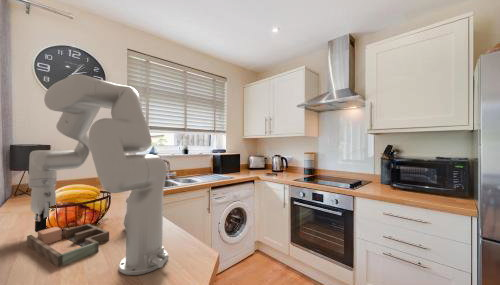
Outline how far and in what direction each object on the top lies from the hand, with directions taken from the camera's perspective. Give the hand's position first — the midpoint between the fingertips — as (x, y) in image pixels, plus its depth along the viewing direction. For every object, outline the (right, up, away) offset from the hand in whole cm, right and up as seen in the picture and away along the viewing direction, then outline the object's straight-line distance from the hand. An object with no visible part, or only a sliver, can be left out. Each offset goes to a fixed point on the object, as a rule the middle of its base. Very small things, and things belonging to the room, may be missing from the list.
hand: (41, 230), depth 77 cm
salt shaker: (+30, -3, +8) cm, 31 cm away
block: (+7, -2, -4) cm, 9 cm away
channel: (+18, -2, -7) cm, 19 cm away
